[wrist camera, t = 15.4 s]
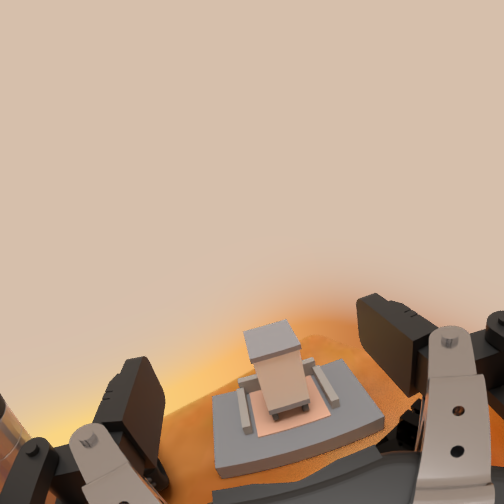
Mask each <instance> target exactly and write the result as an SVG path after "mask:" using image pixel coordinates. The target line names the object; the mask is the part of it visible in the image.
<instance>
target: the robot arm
mask: <svg viewBox="0 0 504 504" xmlns="http://www.w3.org/2000/svg"><path fill="white" fill-rule="evenodd" d="M356 307H357V318H358V329H359V338H360V342H361V344H362V346H363V348H364V349H365V351H366V352H367V353H368V354H369V355H370V356H371V357H372V358H373V359H374V360H375V361H376V363H377V364H378V365H379V366H380V367H381V368H382V369H383V370H384V371H385V372H386V374H387V375H388V376H389V377H390V378H391V379H392V380H393V381H394V382H395V384H396V385H397V386H398V387H399V388H400V389H401V390H402V391H403V392H404V394H405V395H406V396H407V397H408V398H409V397H411V396H413V395H415V394H417V393H419V392H420V393H421V394H422V395H423V396H422V402H421V411H420V419H419V426H418V433H417V440H416V445H415V450H414V451H393V452H386V453H381V454H380V452H379V451H378V449H377V448H376V446H375V445H372V446H370V447H368V448H366V449H363V450H361V451H358V452H356V453H354V454H351V455H348V456H346V457H343V458H341V459H338V460H336V461H334V462H333V463H331V464H329V465H328V466H326V467H324V468H322V469H321V470H319V471H317V472H315V473H314V474H312V475H310V476H308V477H306V478H304V479H302V480H300V481H297V482H290V483H273V484H250V485H245V486H240V487H234V488H228V489H222V490H215V491H212V496H213V502H210V503H208V504H504V467H498V466H491V439H490V421H489V409H488V404H489V405H490V406H491V407H492V408H493V409H494V411H495V412H496V413H497V414H498V415H499V416H500V417H501V418H502V419H503V420H504V311H497V312H494V313H492V314H491V315H490V316H489V317H488V319H487V324H486V329H484V330H481V331H477V332H474V333H471V334H469V333H468V332H467V331H466V330H465V329H463V328H461V327H457V326H444V327H440V328H438V327H437V326H435V325H434V324H432V323H431V322H429V321H428V320H426V319H425V318H423V317H422V316H420V315H418V314H417V313H416V312H415V311H413V310H411V309H410V308H408V307H407V306H405V305H404V304H402V303H398V302H395V301H387V300H386V299H384V298H383V297H381V296H380V295H378V294H377V293H374V294H371V295H368V296H365V297H362V298H360V299H358V300H357V302H356ZM105 392H106V393H105V394H104V396H103V398H102V400H103V401H101V403H100V405H99V407H98V410H97V412H96V415H95V417H94V420H93V422H92V423H91V424H87V425H84V426H82V427H80V428H79V429H77V430H76V431H75V432H74V433H73V434H72V436H71V438H70V441H69V444H67V445H63V446H59V447H55V448H53V447H52V446H51V445H50V443H49V442H48V441H47V440H46V439H45V438H42V437H36V438H33V439H32V438H31V436H30V435H29V434H28V433H27V431H26V430H25V429H24V427H23V426H22V425H21V423H20V422H19V421H18V419H17V418H16V417H15V415H14V414H13V412H12V411H11V409H10V408H9V407H8V405H7V403H6V402H5V400H4V399H3V397H2V396H1V394H0V492H1V493H0V504H168V503H167V502H166V501H165V500H164V499H163V498H162V497H161V496H160V494H159V493H158V492H157V491H156V490H155V489H154V488H153V486H152V485H151V484H150V483H149V482H148V480H147V479H146V478H145V477H144V476H143V473H144V469H148V468H156V467H157V459H158V451H159V443H160V436H161V429H162V422H163V415H164V409H165V395H164V392H163V389H162V387H161V385H160V383H159V381H158V379H157V377H156V375H155V373H154V370H153V368H152V366H151V364H150V362H149V360H148V359H147V357H145V356H143V357H138V358H132V359H127V360H126V361H125V364H124V366H123V368H122V370H121V373H120V374H117V375H116V376H115V377H114V378H113V379H112V380H111V381H110V382H109V384H108V387H107V389H106V391H105Z"/></svg>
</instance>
